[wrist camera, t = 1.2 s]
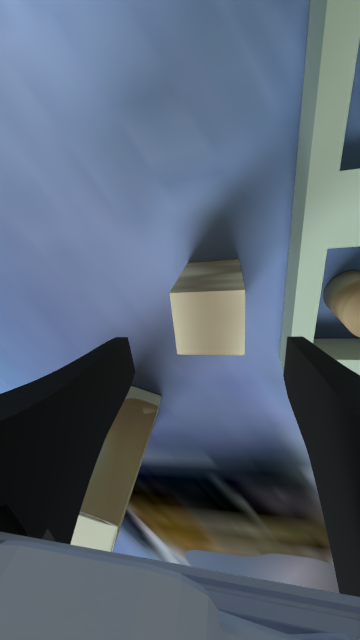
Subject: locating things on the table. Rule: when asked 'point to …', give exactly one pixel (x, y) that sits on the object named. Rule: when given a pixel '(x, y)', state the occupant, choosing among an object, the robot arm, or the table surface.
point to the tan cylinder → (345, 299)
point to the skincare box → (116, 472)
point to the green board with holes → (323, 174)
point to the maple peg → (209, 309)
